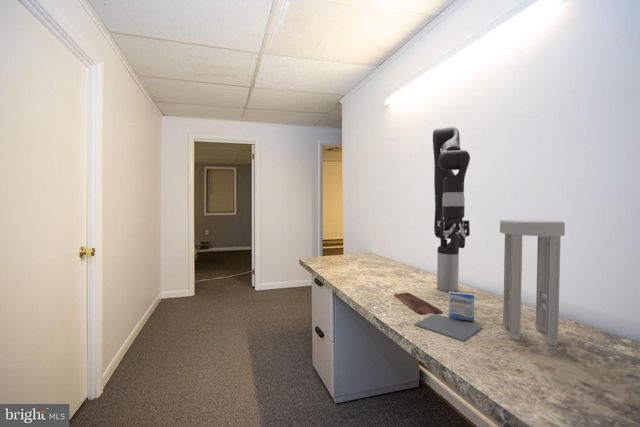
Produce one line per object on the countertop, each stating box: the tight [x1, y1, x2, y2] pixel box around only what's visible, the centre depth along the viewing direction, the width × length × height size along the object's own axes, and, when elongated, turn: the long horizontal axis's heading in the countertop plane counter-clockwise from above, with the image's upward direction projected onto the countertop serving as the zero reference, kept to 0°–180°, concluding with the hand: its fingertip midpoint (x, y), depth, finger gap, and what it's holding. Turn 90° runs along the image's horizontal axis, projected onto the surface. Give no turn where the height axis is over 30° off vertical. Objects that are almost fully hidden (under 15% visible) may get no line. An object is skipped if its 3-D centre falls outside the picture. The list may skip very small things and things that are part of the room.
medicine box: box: [448, 291, 475, 322], centre depth 103 cm, size 8×4×9 cm, turn 68°
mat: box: [414, 314, 483, 343], centre depth 96 cm, size 14×16×1 cm
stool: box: [499, 219, 566, 346], centre depth 90 cm, size 16×16×35 cm
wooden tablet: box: [393, 292, 444, 316], centre depth 120 cm, size 26×2×10 cm
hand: (452, 248), depth 110 cm, fingers open, 8 cm apart
